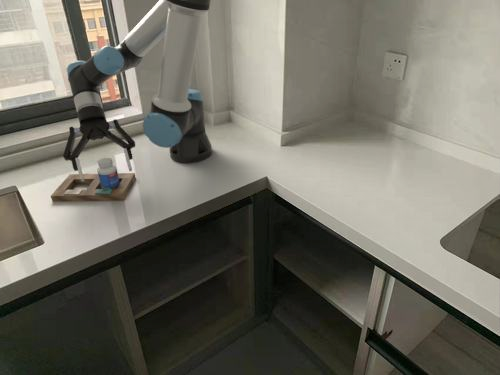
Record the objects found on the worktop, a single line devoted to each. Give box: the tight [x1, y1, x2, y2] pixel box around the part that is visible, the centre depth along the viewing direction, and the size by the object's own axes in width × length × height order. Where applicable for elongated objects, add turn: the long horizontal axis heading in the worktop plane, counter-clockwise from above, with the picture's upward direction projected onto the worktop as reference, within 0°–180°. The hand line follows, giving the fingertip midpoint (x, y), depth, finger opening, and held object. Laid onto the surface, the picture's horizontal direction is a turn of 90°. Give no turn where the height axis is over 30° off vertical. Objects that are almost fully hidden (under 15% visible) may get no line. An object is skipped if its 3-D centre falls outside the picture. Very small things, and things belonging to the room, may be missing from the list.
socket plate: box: [50, 172, 137, 203], centre depth 112 cm, size 21×13×2 cm, turn 90°
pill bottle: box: [97, 157, 120, 189], centre depth 111 cm, size 6×5×10 cm
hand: (107, 174), depth 108 cm, fingers open, 13 cm apart
